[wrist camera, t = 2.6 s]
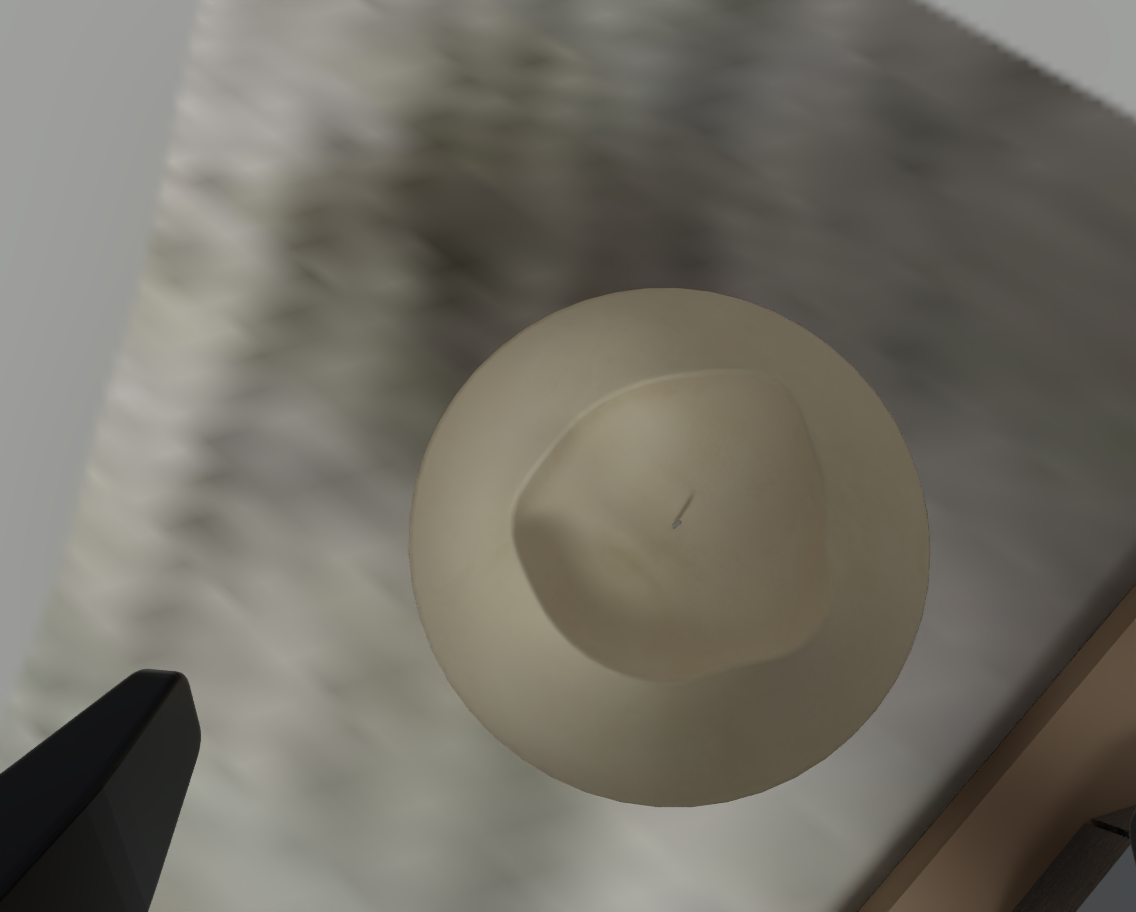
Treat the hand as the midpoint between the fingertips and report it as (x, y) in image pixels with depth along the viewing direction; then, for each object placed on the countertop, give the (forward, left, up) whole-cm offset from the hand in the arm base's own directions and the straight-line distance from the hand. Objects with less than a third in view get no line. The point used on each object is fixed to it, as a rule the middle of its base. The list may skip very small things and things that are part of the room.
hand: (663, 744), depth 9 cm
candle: (+2, +1, -9) cm, 10 cm away
